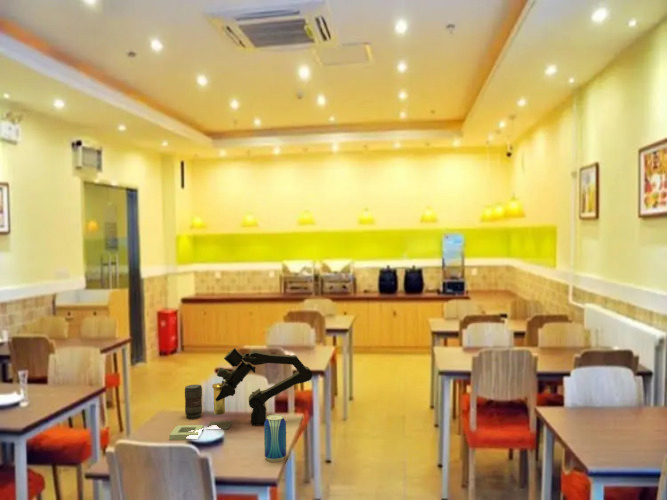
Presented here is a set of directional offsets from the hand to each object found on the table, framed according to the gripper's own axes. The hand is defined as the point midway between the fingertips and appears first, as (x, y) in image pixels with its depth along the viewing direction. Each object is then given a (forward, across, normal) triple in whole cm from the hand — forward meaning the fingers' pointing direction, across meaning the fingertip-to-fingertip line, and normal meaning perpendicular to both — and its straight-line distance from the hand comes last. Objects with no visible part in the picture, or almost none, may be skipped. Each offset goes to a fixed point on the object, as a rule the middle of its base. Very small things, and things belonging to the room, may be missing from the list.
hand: (216, 398), depth 250 cm
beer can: (-7, +43, +26) cm, 51 cm away
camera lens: (+17, -16, +1) cm, 24 cm away
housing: (+18, +9, 0) cm, 20 cm away
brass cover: (+4, 0, +6) cm, 7 cm away
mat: (+8, 0, +10) cm, 13 cm away
